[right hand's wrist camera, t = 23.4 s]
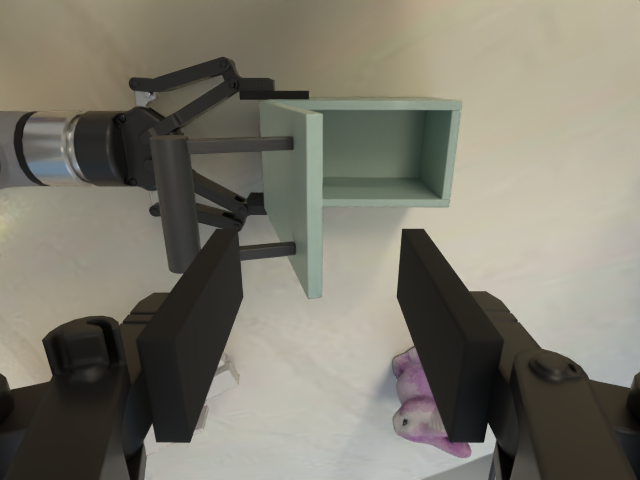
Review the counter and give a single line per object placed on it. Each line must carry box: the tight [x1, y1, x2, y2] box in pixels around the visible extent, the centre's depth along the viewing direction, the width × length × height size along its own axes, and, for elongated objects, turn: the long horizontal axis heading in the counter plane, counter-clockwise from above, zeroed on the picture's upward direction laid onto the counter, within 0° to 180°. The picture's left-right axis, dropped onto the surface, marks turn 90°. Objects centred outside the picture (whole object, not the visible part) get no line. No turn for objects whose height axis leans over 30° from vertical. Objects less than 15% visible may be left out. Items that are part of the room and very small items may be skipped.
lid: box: [149, 100, 323, 299], centre depth 27 cm, size 18×10×8 cm
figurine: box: [393, 347, 471, 458], centre depth 51 cm, size 9×10×15 cm
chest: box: [268, 97, 462, 207], centre depth 42 cm, size 18×10×11 cm, turn 90°
